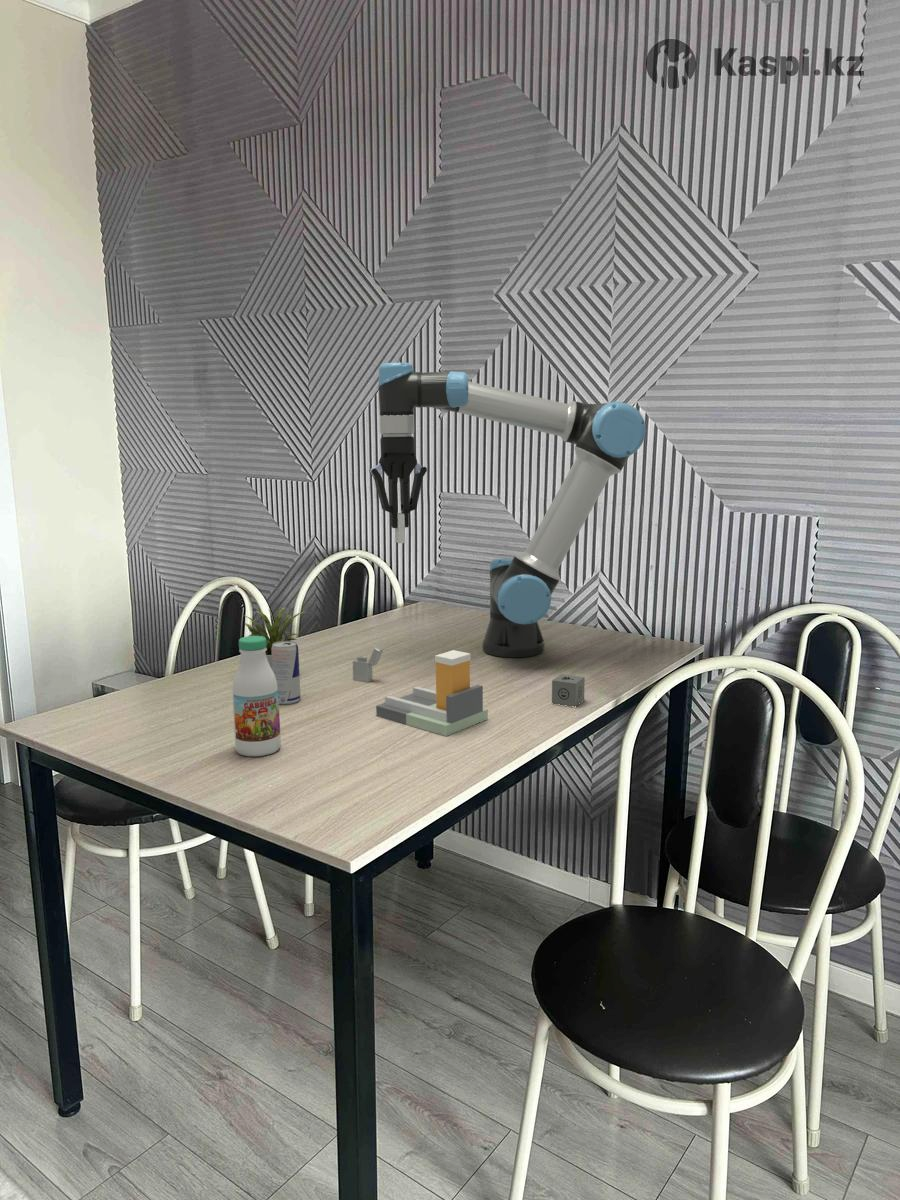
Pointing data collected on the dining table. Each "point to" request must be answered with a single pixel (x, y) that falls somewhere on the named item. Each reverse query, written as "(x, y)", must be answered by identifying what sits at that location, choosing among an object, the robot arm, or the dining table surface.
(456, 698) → the grey rail tray
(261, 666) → the milk bottle
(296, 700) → the energy drink
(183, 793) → the dining table surface
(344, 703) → the dining table surface
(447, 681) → the block
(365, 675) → the lighter
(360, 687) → the dining table surface
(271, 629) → the house plant
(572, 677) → the dice cube
